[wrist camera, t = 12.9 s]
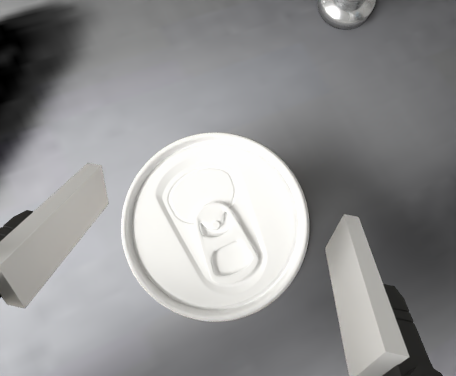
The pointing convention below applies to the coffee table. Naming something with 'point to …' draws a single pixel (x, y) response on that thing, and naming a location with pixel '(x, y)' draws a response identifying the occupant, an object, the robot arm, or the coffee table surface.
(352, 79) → the coffee table surface
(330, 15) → the posts
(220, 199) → the beverage can
